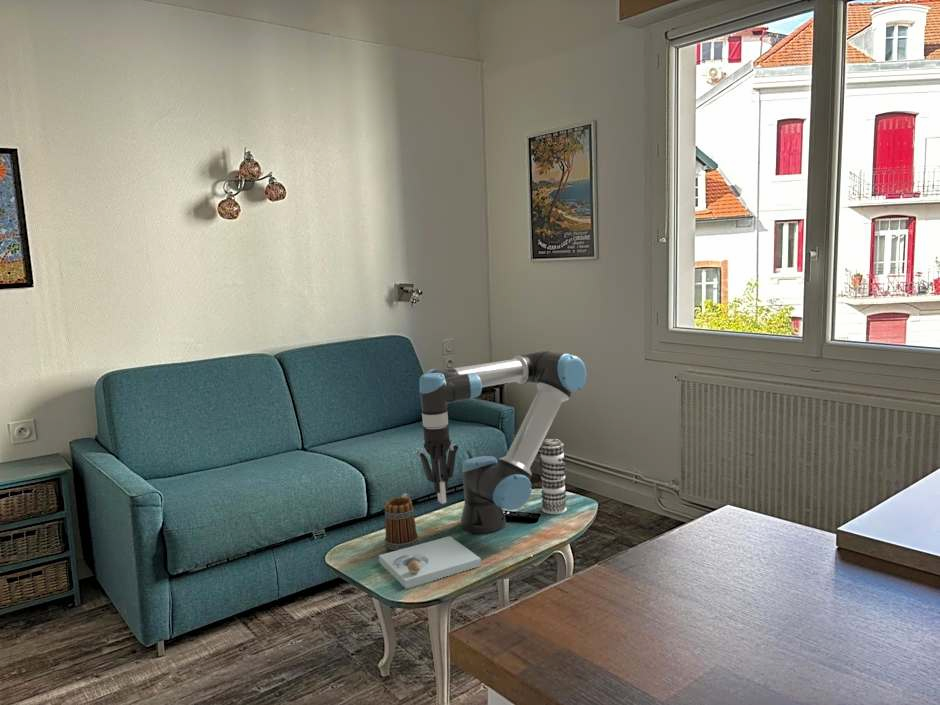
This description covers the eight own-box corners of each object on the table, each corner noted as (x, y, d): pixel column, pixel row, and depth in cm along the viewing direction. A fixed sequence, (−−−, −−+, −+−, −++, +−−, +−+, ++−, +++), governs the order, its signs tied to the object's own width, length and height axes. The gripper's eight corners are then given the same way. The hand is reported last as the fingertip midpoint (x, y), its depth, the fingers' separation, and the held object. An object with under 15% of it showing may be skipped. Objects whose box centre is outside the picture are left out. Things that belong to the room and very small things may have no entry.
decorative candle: (561, 503, 258) (558, 435, 255) (571, 512, 250) (569, 442, 246) (537, 507, 256) (534, 438, 252) (547, 516, 247) (544, 445, 243)
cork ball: (417, 568, 207) (416, 557, 207) (422, 573, 204) (422, 561, 203) (406, 572, 205) (405, 560, 205) (411, 577, 202) (410, 564, 202)
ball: (413, 569, 214) (418, 557, 215) (417, 573, 211) (423, 562, 212) (403, 565, 213) (408, 553, 213) (408, 569, 210) (413, 558, 210)
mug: (413, 554, 223) (410, 508, 221) (380, 553, 225) (377, 507, 223) (426, 534, 238) (423, 490, 236) (395, 533, 240) (392, 489, 238)
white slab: (450, 543, 229) (449, 536, 229) (481, 566, 212) (480, 558, 212) (379, 563, 218) (378, 555, 218) (406, 588, 201) (405, 580, 200)
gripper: (449, 419, 219) (455, 493, 223) (410, 427, 213) (417, 503, 217) (461, 424, 213) (467, 500, 217) (421, 432, 207) (428, 511, 211)
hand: (442, 501), depth 217 cm, fingers closed
